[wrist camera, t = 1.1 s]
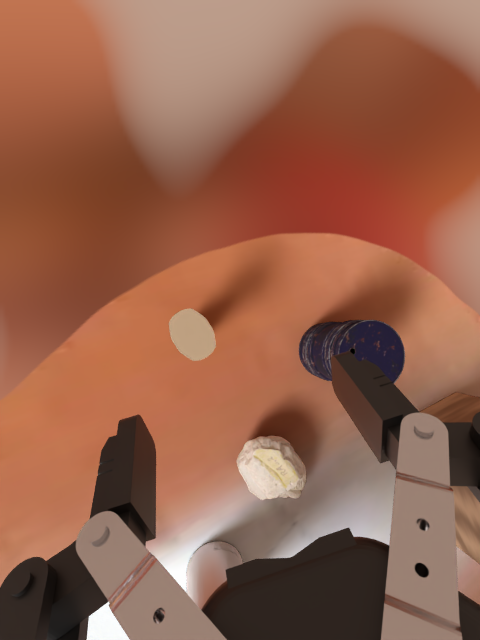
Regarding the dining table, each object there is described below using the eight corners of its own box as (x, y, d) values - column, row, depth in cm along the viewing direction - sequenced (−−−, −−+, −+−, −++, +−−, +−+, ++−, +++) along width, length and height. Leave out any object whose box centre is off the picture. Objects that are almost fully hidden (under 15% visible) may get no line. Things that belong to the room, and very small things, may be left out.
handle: (191, 309, 55) (195, 301, 41) (212, 342, 56) (223, 345, 41) (166, 325, 55) (160, 323, 40) (188, 358, 55) (190, 368, 40)
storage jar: (355, 329, 60) (412, 328, 46) (345, 383, 60) (398, 400, 45) (304, 316, 59) (345, 311, 44) (292, 371, 58) (330, 385, 43)
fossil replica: (284, 501, 57) (305, 444, 59) (307, 526, 49) (330, 459, 51) (221, 479, 54) (244, 420, 56) (234, 501, 46) (261, 431, 48)
